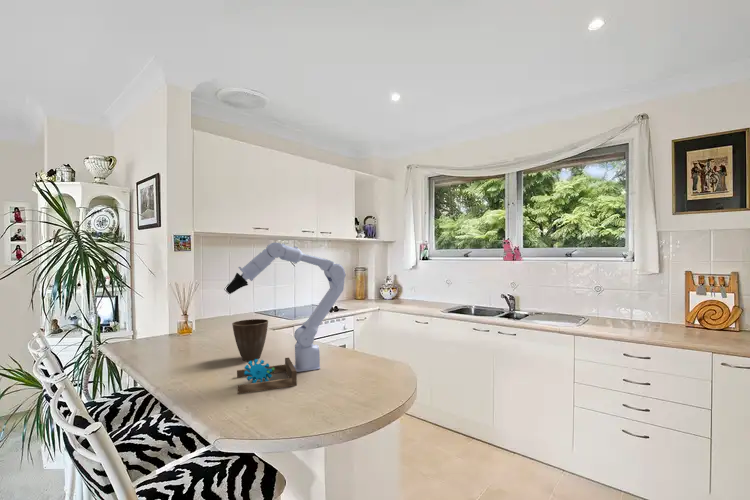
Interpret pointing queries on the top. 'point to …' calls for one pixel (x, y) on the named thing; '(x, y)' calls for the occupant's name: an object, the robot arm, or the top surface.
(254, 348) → the plant pot
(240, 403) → the top surface
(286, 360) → the wooden u-shaped frame
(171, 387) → the top surface
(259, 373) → the gear
